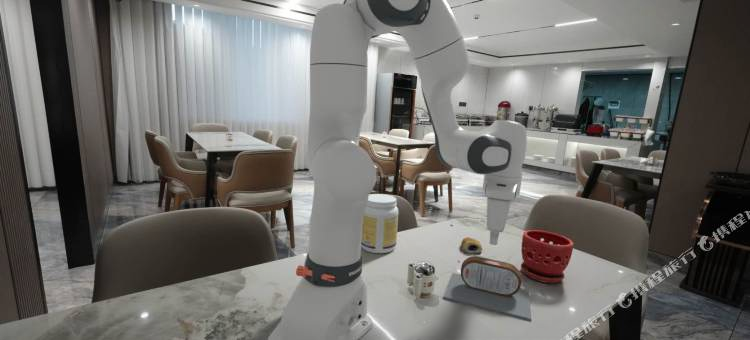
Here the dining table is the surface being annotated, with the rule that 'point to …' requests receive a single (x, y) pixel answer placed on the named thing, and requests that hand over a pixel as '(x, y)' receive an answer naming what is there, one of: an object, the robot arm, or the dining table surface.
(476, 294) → the mat
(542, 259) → the plant pot
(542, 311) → the dining table surface
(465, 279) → the tin
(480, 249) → the pastry
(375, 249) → the supplement tub
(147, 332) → the dining table surface
